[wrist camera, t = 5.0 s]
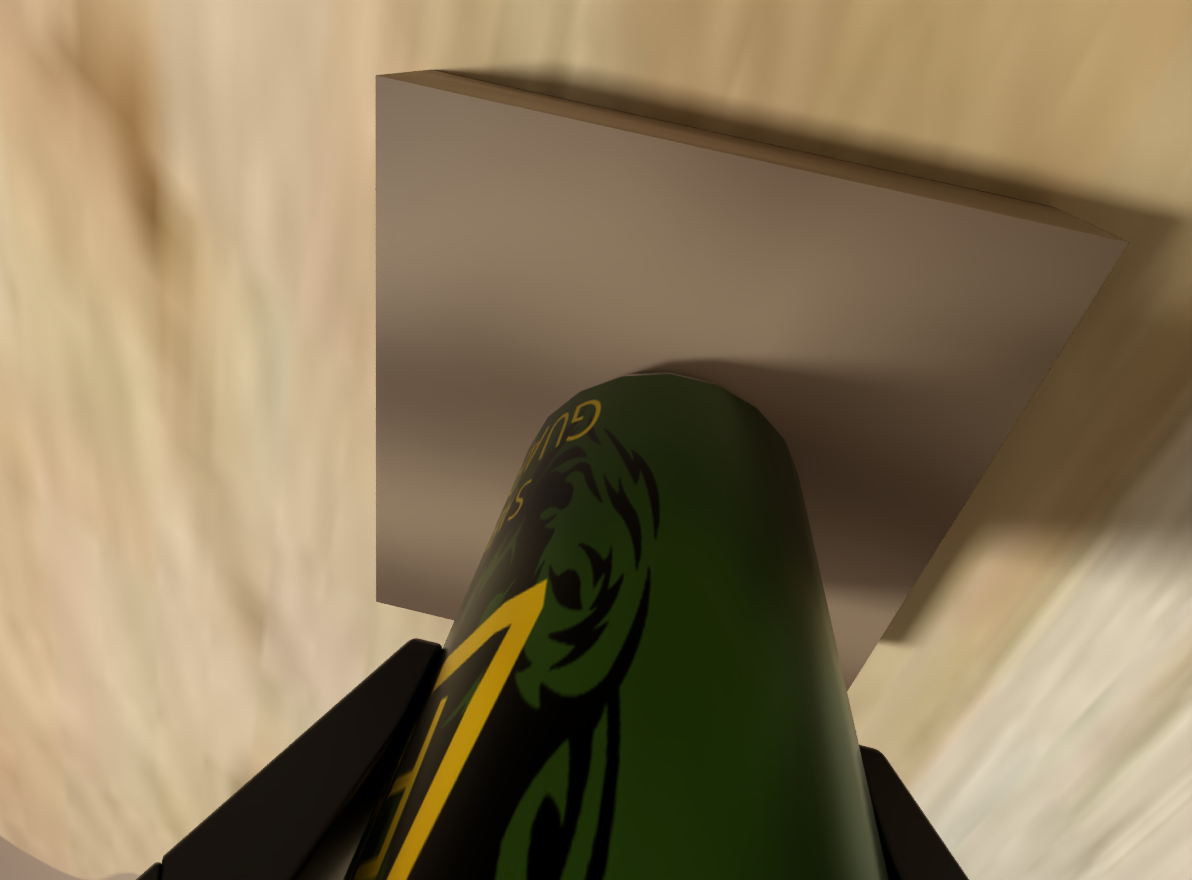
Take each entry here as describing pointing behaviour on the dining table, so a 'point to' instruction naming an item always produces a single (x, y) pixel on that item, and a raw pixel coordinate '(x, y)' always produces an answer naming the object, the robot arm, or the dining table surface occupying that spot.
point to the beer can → (637, 669)
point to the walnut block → (696, 321)
